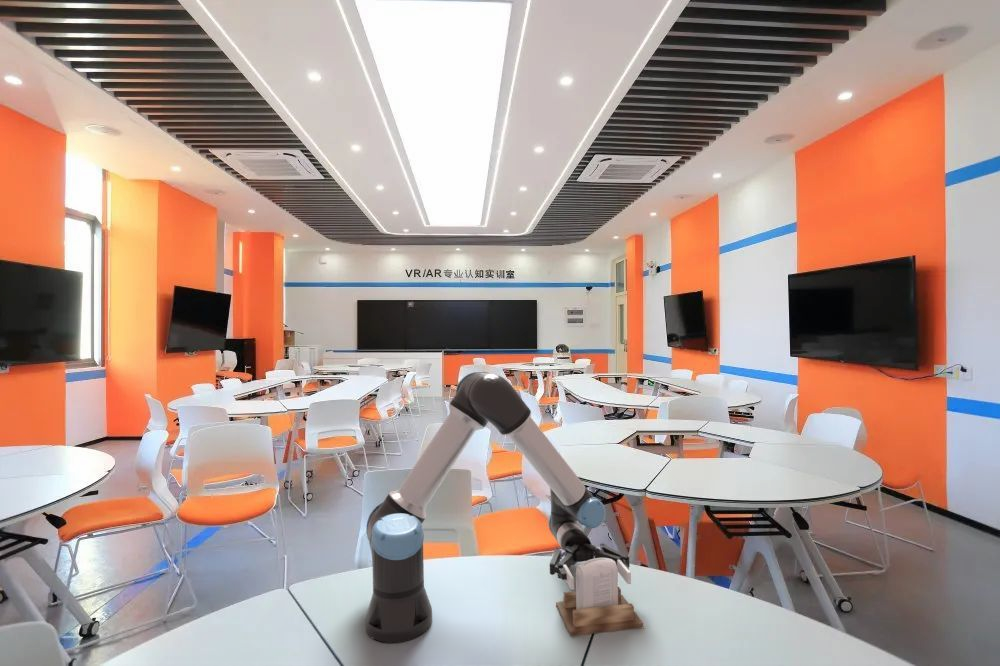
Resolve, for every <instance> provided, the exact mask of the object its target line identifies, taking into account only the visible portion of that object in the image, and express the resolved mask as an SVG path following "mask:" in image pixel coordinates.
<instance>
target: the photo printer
mask: <svg viewBox="0 0 1000 666" xmlns="http://www.w3.org/2000/svg"><path fill="white" fill-rule="evenodd" d="M594 558H595V557H594ZM618 573H619V572H618V569H617V565H616V563H615V561H613V560H612V559H610V558H595V559H590V560H587V561H583V562H580V563H579V564H578V565H576V568H575V591H576V610H577V609H586V608H595V607H604V606H613V605H618V587H619V586H618V585H619V584H618V581H619V579H618V578H619V576H618V575H619V574H618Z"/></svg>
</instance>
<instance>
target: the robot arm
mask: <svg viewBox="0 0 1000 666" xmlns="http://www.w3.org/2000/svg"><path fill="white" fill-rule="evenodd" d="M448 408H449V413H448V415H447V416H446V418H445V420H444V421H443V422H442V425H440V427H439V428H438V430H437V432H435V434H434V436H433V438H432V439H431V440H430V442H429V444H428V445H427V446H426V447H425V450H424V451H423V452H422V454H421V455H420V457H419V458H418V460H417V461H416V463H415V465H414V466H413V467H412V468H411V471H409V473H408V475H407V477H405V479H404V481H403V482H402V484H401V485H400V487H399V488H398V489H397V490H392V491H389V492H388V494H387V495H386V497H385V498H384V499H383V501H382V502H379V503H378V504H376V506H375V507H374V508H372V510H371V512H370V513H369V515H368V518H367V522H366V530H365V531H366V535H367V536H366V537H367V540H368V544H369V548H370V553H371V562H372V595H371V599H370V602H369V605H368V609H367V611H366V612H367V613H366V615H365V630H366V634H367V635H368V634H369V635H370V636H371V637H373V638H374V639H373V638H372V639H373V640H375V639H376V640H375V641H377V640H378V642H380V641H382V643H388V644H389V643H391V644H393V643H394V644H395V643H402V642H406V641H410V640H413V639H416V638H418V637H420V636H421V635H422V634H424V633H425V632H426V631H427V630H428V629H429V628H430V626H431V625H432V622H433V609H432V608H433V607H432V605H431V602H430V599H429V596H428V594H427V593H428V592H427V590H426V588H425V576H424V575H425V573H424V572H425V570H424V563H425V562H424V539H425V534H424V530H423V523H424V521H425V520H426V518H427V511H426V508H427V507H428V505H429V503H430V501H431V500H432V498H433V497H434V495H435V494H436V493H437V491H438V489H439V488H440V486H441V484H442V483H443V481H444V480H445V478H446V477H447V476H448V474H449V472H450V471H451V469H452V468H453V466H454V465H455V463H456V462H457V460H458V459H459V457H460V456H461V454H462V453H463V451H464V450H465V448H466V446H467V445H468V443H469V442H470V441H471V439H472V437H473V436H474V434H475V433H476V432H477V431H479V430H483V429H485V427H486V426H487V425H488V423H490V424H491V425H492V426H494V428H495V429H496V430H497V431H498V432H499V433H500V434H501V435H502V436H507V437H508V439H510V441H511V442H513V444H514V446H515V447H516V448H517V449H518V451H520V453H521V455H523V457H524V458H526V460H527V461H528V463H529V464H530V465H531V467H533V469H534V470H535V471H536V472H537V474H538V475H539V476H540V478H542V479H543V481H544V482H545V483H546V485H547V486H548V487H549V490H550V515H549V517H548V519H547V524H548V529H549V531H550V533H551V535H552V536H553V537H554V540H556V542H557V543H558V545H559V546H560V547H558V546H556V547H554V553H553V555H552V558H551V559H550V562H549V574H550V575H555V574H557V578H558V579H561V580H562V581H564V580H565V582H566V583H567V586H568V587H569V589H570V591H573V590H574V591H575V577H574V576H573V574H572V573H571V570H570V568H571V567H572V566H575V565H576V564H577V563H583V562H585V561H587V560H590V559H595V558H610V559H612V560H613V561H615V563H616V565H617V569H618V573H619V574H618V575H620V576H621V578H623V580H624V581H625V582H626V584H627V585H632V579H631V578H632V574H631V571H630V569H629V568H630V556H629V555H626V554H624V553H623V552H621V551H619V550H615V549H614V548H612V547H609V546H608V545H607V544H605V543H604V542H603V543H600V545H599V546H595V545H594V544H592V542H591V540H590V538H589V537H588V535H587V534H586V533H585V532H584V530H583V529H582V528H581V527H580V524H581V525H582V526H584V527H586V528H588V529H596V528H598V527H600V526H601V525H602V524H603V522H604V521H605V519H606V515H607V510H606V506H605V504H603V502H602V501H600V500H599V498H598V497H594V496H593V494H592V493H591V492H590V490H589V489H588V488H587V487H586V486H585V484H584V482H582V480H581V479H580V478H579V477H578V475H577V474H576V473H575V471H574V470H573V469H572V468H571V467H570V465H569V463H568V462H567V461H566V460H565V459H564V458H563V456H562V455H561V454H560V452H559V451H558V450H557V448H556V447H555V446H554V445H553V443H552V442H551V441H550V440H549V438H548V437H547V436H546V434H545V433H544V432H543V431H542V429H541V428H540V427H539V426H538V424H537V423H536V421H534V419H533V418H532V417H531V415H532V411H531V409H530V407H529V406H528V405H527V404H526V403H525V401H524V400H523V398H522V397H521V396H520V394H519V392H517V390H516V389H515V388H514V387H513V385H512V384H511V383H510V382H509V381H508V380H507V379H506V378H504V377H503V376H501V375H498V374H495V373H494V374H493V373H489V372H487V371H473V372H470V373H467V374H465V375H464V376H463V377H462V378H461V379H460V380H459V382H458V383H457V386H456V390H455V394H454V397H452V399H451V401H450V402H449V404H448ZM578 523H579V525H578ZM560 548H561V549H560ZM369 635H368V636H369ZM370 636H369V637H370ZM371 637H370V638H371Z"/></svg>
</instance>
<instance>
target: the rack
mask: <svg viewBox="0 0 1000 666" xmlns="http://www.w3.org/2000/svg"><path fill="white" fill-rule="evenodd" d="M562 595H563V601H556V602H555V607H556V609H557V611H558V613H559V615H560V617H561V619H562V622H563V624H564V626H565V627H566V630H567V632H568V635H569V636H570V637H574V636H583V635H592V634H601V633H609V632H610V633H611V632H619V631H626V629H628V630H636V629H643V628H644V622H643V621H642V620H641V618H640V616H639V615H638V614H637V613H636V611H635V606H634V605H633V603H629V602H628V600H627V599H626V598H625V597H624V596H623V595H622V589H621V588H620V587H619V586H618V605H613V606H604V607H595V608H586V609H577V610H576V590H574V591H573V590H571V591H567V592H566V591H563V594H562ZM642 627H643V628H642ZM635 628H636V629H635Z"/></svg>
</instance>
